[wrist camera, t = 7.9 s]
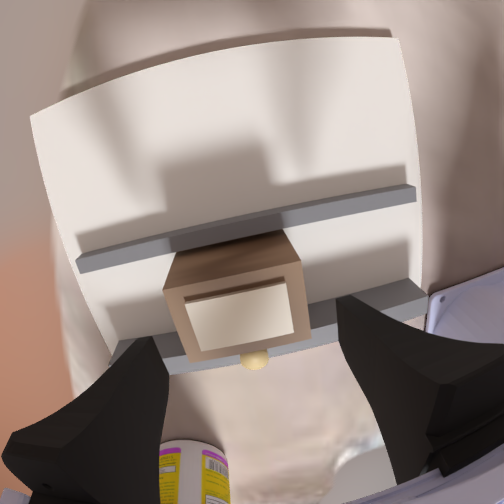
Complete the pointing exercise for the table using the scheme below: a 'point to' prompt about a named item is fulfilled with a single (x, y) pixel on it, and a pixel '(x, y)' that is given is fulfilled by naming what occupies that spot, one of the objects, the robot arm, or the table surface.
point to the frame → (238, 296)
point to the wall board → (240, 181)
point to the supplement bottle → (193, 473)
